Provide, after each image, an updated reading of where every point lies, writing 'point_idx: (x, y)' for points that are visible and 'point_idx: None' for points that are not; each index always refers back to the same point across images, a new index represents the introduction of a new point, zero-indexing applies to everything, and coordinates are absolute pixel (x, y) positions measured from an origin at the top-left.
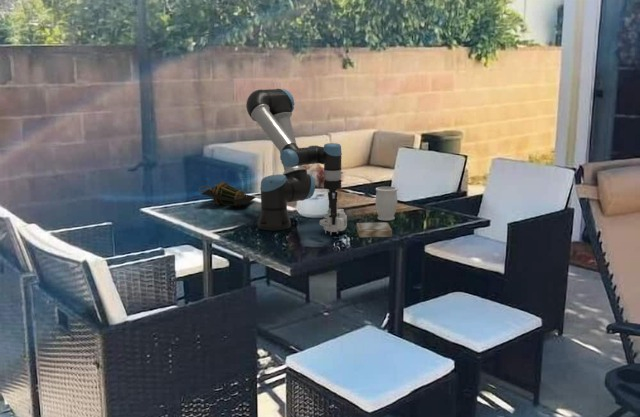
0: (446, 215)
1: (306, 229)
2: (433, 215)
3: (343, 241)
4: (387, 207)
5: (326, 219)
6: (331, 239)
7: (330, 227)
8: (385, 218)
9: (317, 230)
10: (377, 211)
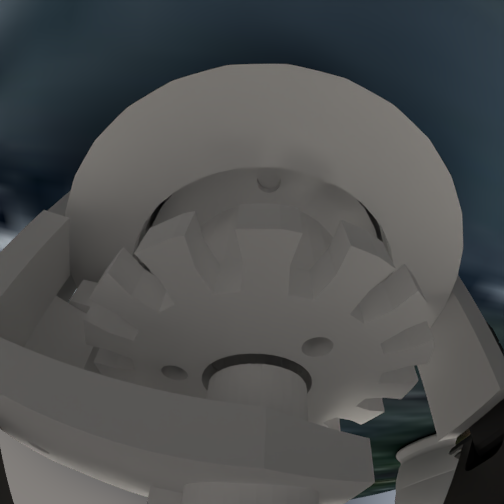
0: (364, 492)
1: (485, 6)
2: (380, 485)
3: (7, 239)
4: (401, 496)
5: (421, 247)
6: (33, 163)
7: (48, 210)
8: (407, 453)
9: (426, 86)
10: (444, 460)
